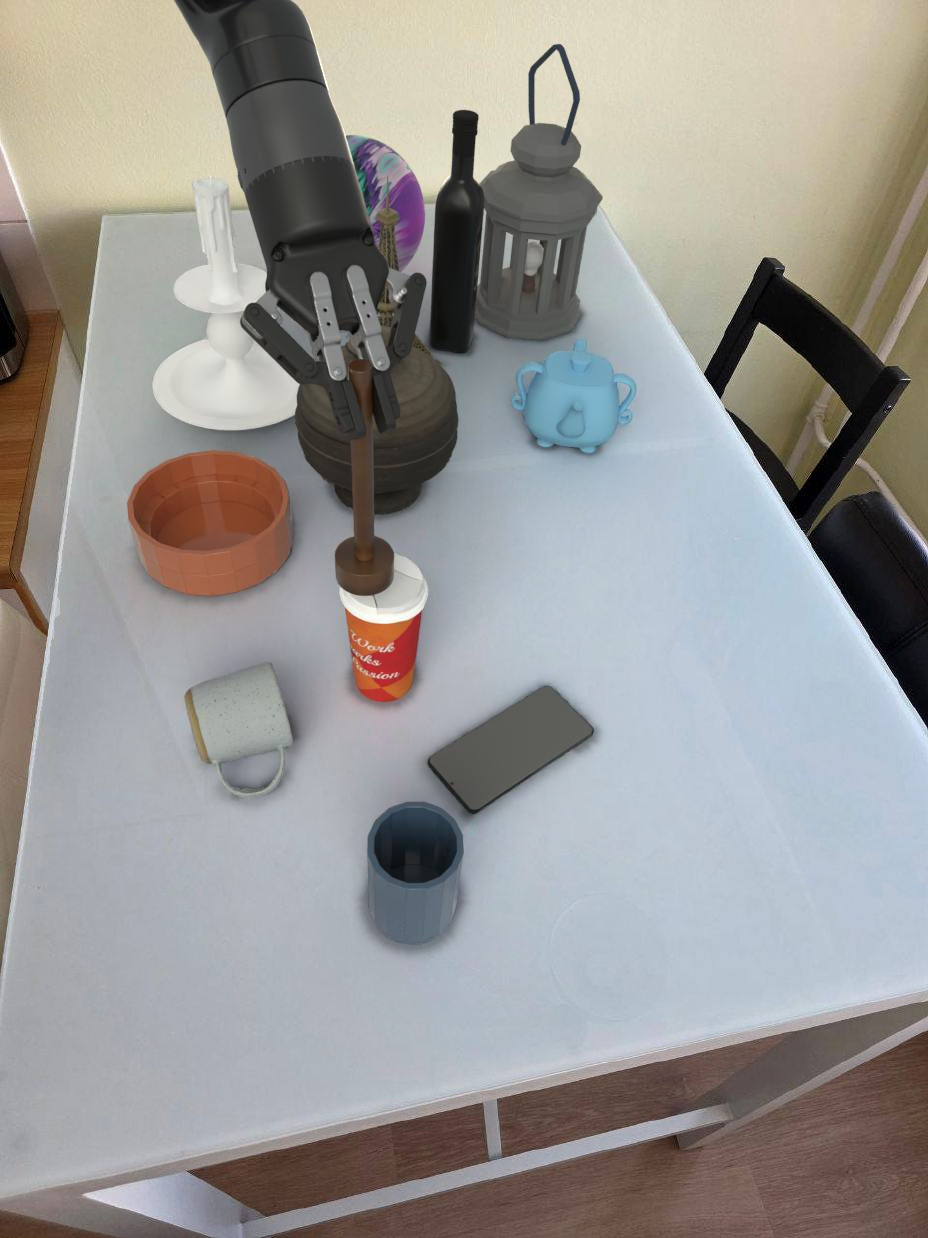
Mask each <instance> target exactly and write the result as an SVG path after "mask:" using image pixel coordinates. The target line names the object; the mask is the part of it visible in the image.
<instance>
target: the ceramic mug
mask: <svg viewBox="0 0 928 1238" xmlns="http://www.w3.org/2000/svg"><path fill="white" fill-rule="evenodd" d="M184 703H185V710H186V714H187V717H188V721H189V725H190V729H191V732H192V737H193V740H194V743H195V747H196V750H197V753H198V755H199V758H200V759H201V760H202V761H203V762H204V763H206V764H209V765H214V767H215V771H216V774H217V776H218V779H219V781H220V783H221V785H222V786H223V787H224V788H225V790H227V791H228V792H229V793H230V794H232V795H234V796H236V797H239V798H243V799H255V798H260V797H262V796H265V795H267V794H269V793H270V792H272V791H273V790H275V789H276V788H277V787H278V785H279V784H280V782H281V780H282V778H283V776H284V773H285V769H286V749H287V748H289V747H292V746H293V745H294V739H293V733H292V728H291V725H290V720H289V716H288V713H287V712H288V711H287V709H286V705H285V701H284V698H283V695H282V691H281V687H280V685H279V682H278V678H277V675H276V672H275V668H274V665H273V663H272V662H270V661H266V662H263V663H260V664H257V665H253V666H251V667H248V668H244V669H240V670H238V671H234V672H230V673H228V674H225V675H222V676H219V677H214V678H212V679H207V680H205V681H202V682H200V683H198V684H195V685H194V686H192V687H190V688H188V689H187V690H186V692H185V693H184ZM273 751H279V753H280V757H279V759H280V760H279V768H278V770H277V773H276V774H275V775H274V778H272V780H271V782H270V783H269V784H268V785H267V786H262V787H256V788H249V787H246V786H245V787H242V788H240V787H237V786H233V785H232V784H231V783H229V781H227V780H226V777H225V775H224V774H223V770H222V764H225V763H230V762H235V761H236V760H239V759H243V758H246V757H247V758H248V757H252V756H256V755H261V754H267V753H271V752H273Z"/></svg>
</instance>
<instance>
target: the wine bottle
mask: <svg viewBox="0 0 928 1238" xmlns="http://www.w3.org/2000/svg"><path fill="white" fill-rule="evenodd" d="M479 118H480V117H479V114H478V113H477V112H476V111H473V110H470V109H458V110H455V111H454V112H453V113H452V128H451V133H452V146H451V164H450V174H449V175H448V176H447V177H446V178H445V179H444V181H443V182H442V184H441V186H440V189H439V191H438V193H437V195H436V200H435V207H434V225H433V250H432V269H431V270H432V271H431V294H430V315H429V316H430V317H429V340H428V342H429V347H431V348H432V349H436V350H440V351H448V352H453V353H459V354H460V353H461V354H462V353H466V352H468V351H469V350H470V347H471V344H472V341H473V338H474V333H475V332H474V330H475V319H476V317H475V309H476V297H477V287H478V285H479V284H478V283H479V274H480V273H479V272H480V271H479V270H480V259H481V250H482V249H481V247H482V238H483V236H482V235H483V225H484V224H483V223H484V213H485V209H484V192H483V189H482V186H481V184H480V182H479V181H478V179H476V178H475V177H474V170H475V169H474V168H475V155H476V140H477V139H476V138H477V135H478V133H479V132H478V125H479Z"/></svg>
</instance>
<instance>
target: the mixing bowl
mask: <svg viewBox="0 0 928 1238" xmlns="http://www.w3.org/2000/svg"><path fill="white" fill-rule="evenodd" d="M126 507H127V509H126V510H127V520H128V522H129V528H130V530H131V534H132V538H133V541H134V545H135V548H136V551H137V555H138V558H139V559H138V560H139V561H140V563H141V564H142V567H143V568H144V570H145V571H146V573H147V574H148V576H150V577H151V578H152V579H154V580H155V581H156V582H158V583H159V584H161V585H162V586H163V587H165V588H168V589H171V590H173V591H176V592H180V593H183V594H186V595H192V596H193V595H194V596H209V597H213V596H214V597H215V596H221V595H227V594H233V593H234V594H235V593H239V592H241V591H244V590H247V589H248V588H252V587H254V586H256V585H258V584H261V583H262V582H263V581H265V580H266V579H268V578H269V577H271V576H272V575H273V574H274V573H276V572H277V571H279V570H280V568H281V567H282V566H283V565H284V563H285V562H286V560H287V558H288V557H289V556H290V554H291V550H292V545H293V541H294V531H293V530H294V529H293V520H292V509H291V500H290V494H289V490H288V486H287V482H286V480H285V479H284V477H283V476H282V475H281V474H280V473H279V472H278V470H277V469H276V468H275V467H273V466H272V465H270V464H268V463H267V462H265V461H264V460H262V459H260V458H259V457H256V456H252V455H250V454H246V453H242V452H240V451H235V450H234V451H233V450H232V451H231V450H219V449H210V450H202V451H194V452H188V453H185V454H181V455H178V456H175V457H173V458H170V459H166V460H165V461H163V462H161V463H159V464H158V465H156V466H154V467H153V468H151V469H149V470H148V471H147V472H145V473H144V475H142V477H141V478H140V479H138V481H137V482H136V483H135V484H134V485H133V487H132V489H131V492H130V494H129V497H128V499H127V502H126Z"/></svg>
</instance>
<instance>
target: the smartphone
mask: <svg viewBox="0 0 928 1238" xmlns="http://www.w3.org/2000/svg"><path fill="white" fill-rule="evenodd" d="M594 733H595V730H594V727H593V725H591V724H590V723H589V722H588V721H587V720H586V719H585V718H584V716H582V715H581V714H580V713H579V712H578V711H577V710H576V709H575V708H574V707H573V706H572V705H571V704H570V703H569V702H568V701H567V700H566V699H565V698H564V697H562V695H560V693H559V692H557V690H555V689H554V688H553V686H551V685H544V686H542V687H540V688H539V689H537V690H536V691H534V692H532V693H531V694H529V695H528V696H526V697H524V698H523V699H521V700H519V701H518V702H516V703H514V704H513V705H511V706H509V707H508V708H507V709H504V710H503V711H502V712H500V713H498V714H497V715H495V716H494V717H492V718H490V719H489V720H487V721H485V722H484V723H482V724H481V725H479V726H477V727H475V728H474V729H473V730H471V731H469V732H468V733H466V734H464V735H462V736H461V737H459V738H458V739H456V740H454V741H453V742H451V743H450V744H448V745H446V746H445V747H443V748H441V749H440V750H439V751H437V752H435V753H434V754H432V755H431V756H429V757H428V758H427V767H428V768H429V770H431V771H432V773H433V774H434V775H435V776H436V777H437V778H438V780H439V781H440V782H441V783H442V784H443V785H444V786H445V788H446V789H447V790H448V792H450V793H451V794H452V796H454V798H455V799H456V800H457V801H458V802H459V803H460V804H461V806H462V807H463V808H464V809H465V810H466V811H467V812H468V813H469V814H470V815H477V814H478V813H480V812H481V811H483V810H485V809H486V808H487V807H489V806H490V805H491V804H493V803H495V802H496V801H497V800H499V799H500V798H502V797H504V796H505V795H507V794H509V792H511V791H512V790H514V789H516V788H517V787H518V786H520V785H521V784H523V783H524V782H526V781H527V780H529V779H531V778H532V777H533V776H535V775H537V774H538V773H539V772H541V771H542V770H544V769H545V768H546V767H548V766H549V765H551V764H552V763H554V762H555V761H557V760H558V759H560V758H561V757H563V756H564V755H566V754H567V753H569V752H571V751H572V750H573V749H575V748H576V747H578V746H579V745H581V744H582V743H584V742H585V741H587V740H588V739H589V738H591V737H593V736H594Z"/></svg>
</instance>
